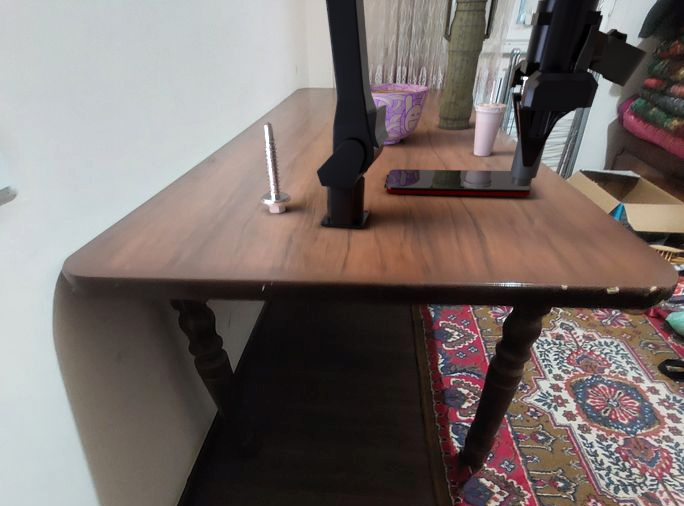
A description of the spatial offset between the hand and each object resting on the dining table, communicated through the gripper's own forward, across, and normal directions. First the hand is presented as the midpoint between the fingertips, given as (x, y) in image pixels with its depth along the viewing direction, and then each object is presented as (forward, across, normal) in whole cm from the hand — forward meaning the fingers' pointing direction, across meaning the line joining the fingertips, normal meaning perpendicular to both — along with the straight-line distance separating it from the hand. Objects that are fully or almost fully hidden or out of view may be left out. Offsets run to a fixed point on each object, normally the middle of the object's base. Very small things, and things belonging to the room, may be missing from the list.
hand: (525, 162), depth 51 cm
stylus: (+2, 0, 0) cm, 2 cm away
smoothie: (+10, +46, +2) cm, 47 cm away
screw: (+10, +3, +36) cm, 37 cm away
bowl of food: (+10, +56, +26) cm, 63 cm away
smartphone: (+10, +21, +8) cm, 25 cm away
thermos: (+10, +77, +9) cm, 79 cm away
